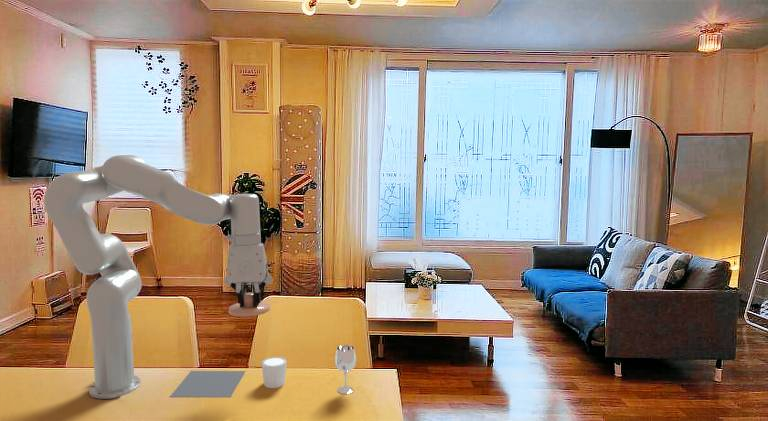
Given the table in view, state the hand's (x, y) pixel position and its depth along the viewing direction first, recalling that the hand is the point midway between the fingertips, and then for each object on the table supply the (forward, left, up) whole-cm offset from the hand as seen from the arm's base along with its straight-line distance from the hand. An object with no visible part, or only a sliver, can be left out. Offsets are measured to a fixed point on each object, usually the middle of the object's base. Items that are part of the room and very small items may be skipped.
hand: (249, 305), depth 143 cm
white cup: (+4, +5, -23) cm, 24 cm away
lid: (0, 0, -1) cm, 1 cm away
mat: (-8, -8, -23) cm, 26 cm away
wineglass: (+20, +17, -23) cm, 35 cm away
